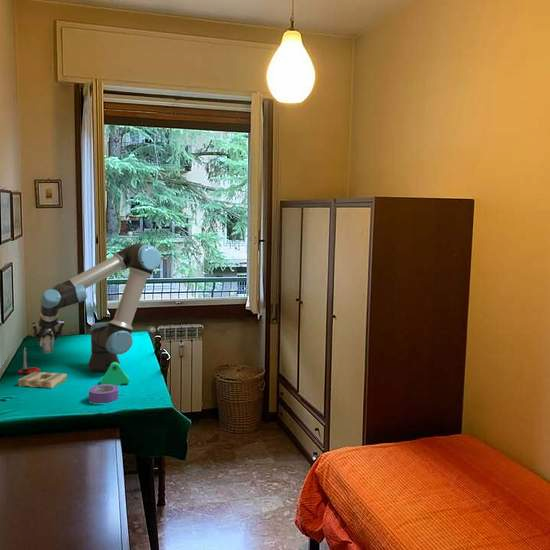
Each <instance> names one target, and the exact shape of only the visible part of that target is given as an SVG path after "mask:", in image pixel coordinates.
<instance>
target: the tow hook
mask: <svg viewBox="0 0 550 550" xmlns="http://www.w3.org/2000/svg"><path fill="white" fill-rule="evenodd" d="M22 367H23V368H22V369H20V370H18V371H17V372H18V373H17V374H19V375H20V374H22V375H29V374H31V373H34V372H41V368H39V367H34V366H33V367H28V363H27V347H25V346H24V347H23V365H22Z"/></svg>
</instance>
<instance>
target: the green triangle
mask: <svg viewBox="0 0 550 550" xmlns="http://www.w3.org/2000/svg"><path fill="white" fill-rule="evenodd" d="M114 366H115V367H117V368H116V369H113V368H112V367H114ZM129 383H130V375H128V374H126V373H125V372H124V370H123V369H122V368H121V365H119V363H117V362H113V363H111V365H110V367H109V369H108V370H107V372H104V375H103V376H102V377H101V379H100V385H102V384H111V385H120V384H123V385H124V384H129ZM120 386H121V385H120Z"/></svg>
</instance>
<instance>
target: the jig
mask: <svg viewBox="0 0 550 550" xmlns="http://www.w3.org/2000/svg"><path fill="white" fill-rule="evenodd" d="M67 378H68V375H67V373H58V372H45V371H43V372H41V371H39V372H34V373H31V374H26V375H25V376H23V377H21V378H19V379H18V387H24V386H29V387H28V388H37V387H45V388H44V389H49V388H52V389H54V388H55V386H56V387H57V386H59V385H61V384H63V383H65V382H67V381H66V380H67ZM64 381H65V382H64ZM62 382H63V383H62ZM53 387H54V388H53Z"/></svg>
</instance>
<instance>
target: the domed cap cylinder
mask: <svg viewBox="0 0 550 550" xmlns="http://www.w3.org/2000/svg"><path fill="white" fill-rule="evenodd" d="M52 333H53V332H52V329H46V331H44V333H43V335H42V338H43V341H42V353H43V354H51V353H53V352H54V345H53V342H52Z"/></svg>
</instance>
